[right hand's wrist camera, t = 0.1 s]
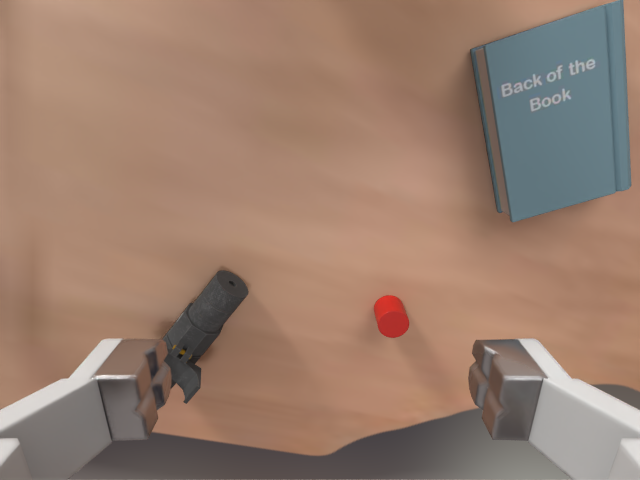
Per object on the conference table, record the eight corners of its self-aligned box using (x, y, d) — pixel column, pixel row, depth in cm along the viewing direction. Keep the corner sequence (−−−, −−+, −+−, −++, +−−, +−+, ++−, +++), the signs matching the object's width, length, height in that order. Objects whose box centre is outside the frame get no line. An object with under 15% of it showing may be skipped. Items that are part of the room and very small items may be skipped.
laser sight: (262, 291, 64) (252, 327, 54) (187, 381, 70) (166, 427, 61) (210, 256, 61) (190, 287, 52) (137, 352, 68) (108, 395, 58)
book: (470, 49, 51) (485, 45, 47) (599, 5, 50) (628, -3, 45) (497, 211, 59) (512, 222, 54) (610, 178, 57) (636, 186, 53)
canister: (369, 303, 65) (372, 319, 60) (395, 290, 64) (401, 305, 59) (381, 325, 66) (386, 342, 62) (407, 313, 65) (414, 329, 61)
